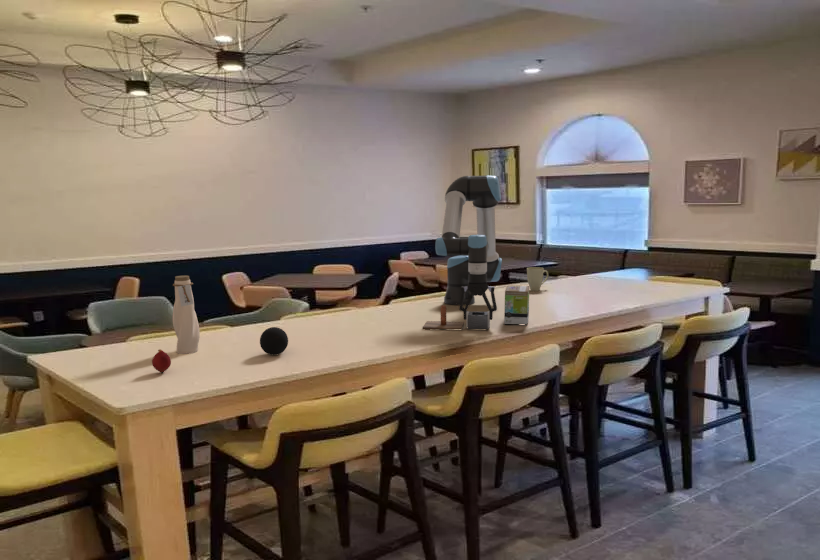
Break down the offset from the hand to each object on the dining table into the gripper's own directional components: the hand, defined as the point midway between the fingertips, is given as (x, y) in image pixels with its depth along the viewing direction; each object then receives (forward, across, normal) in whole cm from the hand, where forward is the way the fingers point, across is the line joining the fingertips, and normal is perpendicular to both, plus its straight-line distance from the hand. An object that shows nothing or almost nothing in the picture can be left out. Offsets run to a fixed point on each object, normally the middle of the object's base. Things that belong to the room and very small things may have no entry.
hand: (478, 327), depth 279 cm
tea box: (+1, +16, +14) cm, 21 cm away
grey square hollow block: (0, 0, 0) cm, 0 cm away
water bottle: (0, -104, -47) cm, 114 cm away
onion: (0, -99, -74) cm, 124 cm away
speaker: (0, -70, -48) cm, 85 cm away
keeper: (0, -14, +1) cm, 15 cm away
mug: (0, +26, +95) cm, 98 cm away
